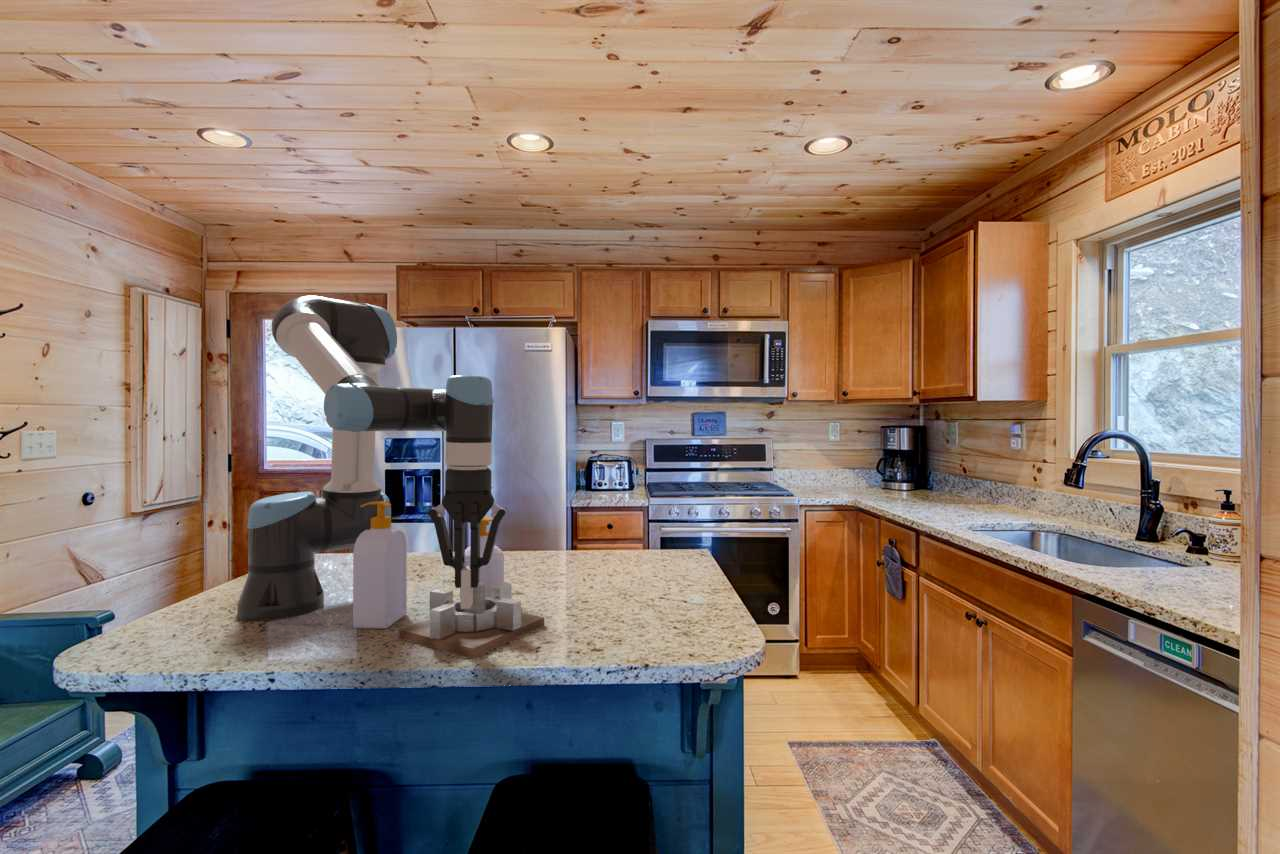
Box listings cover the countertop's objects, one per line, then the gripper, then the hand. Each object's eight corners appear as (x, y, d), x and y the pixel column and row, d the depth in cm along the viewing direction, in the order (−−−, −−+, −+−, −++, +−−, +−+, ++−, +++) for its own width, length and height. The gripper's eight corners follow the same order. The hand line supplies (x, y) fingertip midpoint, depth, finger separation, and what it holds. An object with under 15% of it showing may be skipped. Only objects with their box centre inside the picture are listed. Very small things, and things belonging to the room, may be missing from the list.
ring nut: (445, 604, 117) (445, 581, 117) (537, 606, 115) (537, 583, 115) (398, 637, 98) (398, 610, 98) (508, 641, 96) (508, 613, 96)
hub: (397, 638, 103) (397, 590, 103) (474, 610, 119) (474, 568, 119) (470, 658, 94) (470, 605, 94) (544, 625, 110) (544, 580, 110)
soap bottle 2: (492, 609, 119) (492, 489, 119) (451, 607, 121) (451, 488, 121) (510, 597, 128) (510, 485, 128) (472, 595, 130) (472, 484, 130)
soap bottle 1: (372, 613, 117) (372, 499, 117) (407, 614, 116) (407, 499, 117) (348, 629, 108) (348, 504, 108) (385, 629, 107) (385, 505, 108)
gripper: (510, 466, 103) (508, 599, 103) (434, 465, 102) (432, 600, 102) (505, 469, 96) (502, 613, 96) (423, 468, 94) (421, 614, 95)
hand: (466, 606), depth 99 cm, fingers closed
